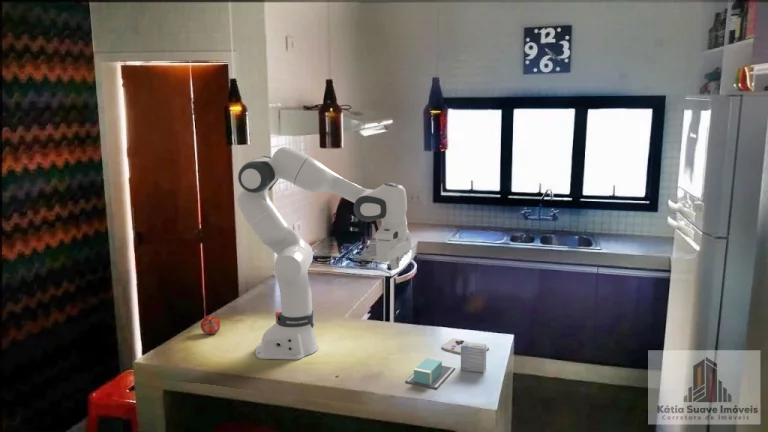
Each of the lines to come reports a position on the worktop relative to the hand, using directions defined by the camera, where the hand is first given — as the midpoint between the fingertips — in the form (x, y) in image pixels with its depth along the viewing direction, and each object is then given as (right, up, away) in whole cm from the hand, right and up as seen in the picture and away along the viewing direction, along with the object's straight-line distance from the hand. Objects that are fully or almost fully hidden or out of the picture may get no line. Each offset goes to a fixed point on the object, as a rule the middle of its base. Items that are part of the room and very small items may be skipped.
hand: (395, 268), depth 212 cm
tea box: (+13, -31, -11) cm, 35 cm away
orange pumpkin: (-72, -28, +28) cm, 82 cm away
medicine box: (+26, -33, -8) cm, 43 cm away
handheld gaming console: (+25, -30, +8) cm, 40 cm away
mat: (+11, -34, -13) cm, 38 cm away
